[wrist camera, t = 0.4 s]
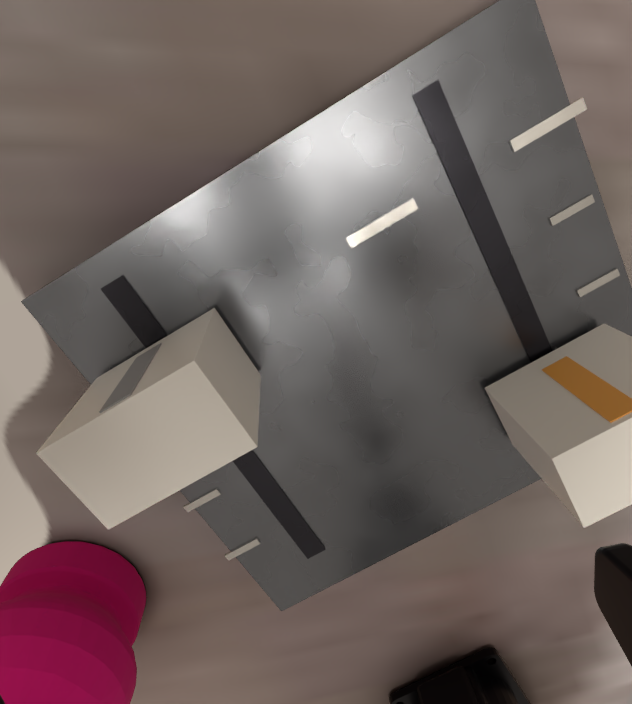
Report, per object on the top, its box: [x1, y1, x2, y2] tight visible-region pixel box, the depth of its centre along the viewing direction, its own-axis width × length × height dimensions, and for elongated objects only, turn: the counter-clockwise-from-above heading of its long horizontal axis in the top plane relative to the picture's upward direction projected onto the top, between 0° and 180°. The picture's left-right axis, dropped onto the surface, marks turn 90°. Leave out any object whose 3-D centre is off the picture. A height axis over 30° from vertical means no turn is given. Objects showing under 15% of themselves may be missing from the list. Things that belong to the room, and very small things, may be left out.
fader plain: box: [36, 308, 261, 530], centre depth 16 cm, size 3×5×5 cm, turn 120°
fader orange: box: [485, 323, 632, 528], centre depth 17 cm, size 3×5×5 cm, turn 120°
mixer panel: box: [21, 0, 632, 611], centre depth 20 cm, size 17×20×2 cm
